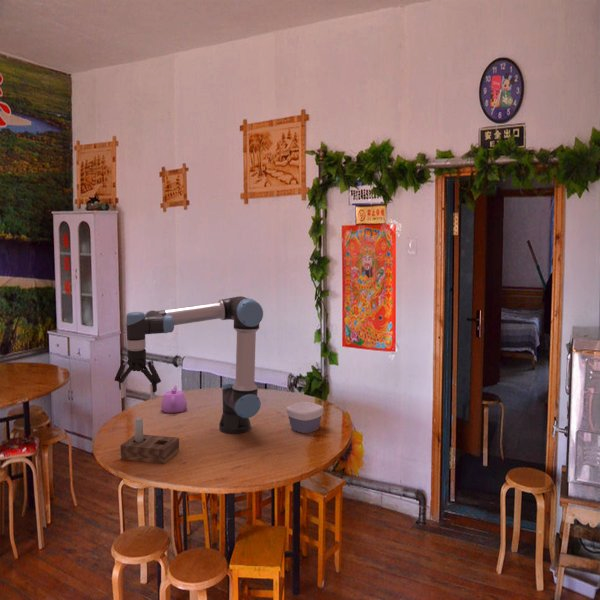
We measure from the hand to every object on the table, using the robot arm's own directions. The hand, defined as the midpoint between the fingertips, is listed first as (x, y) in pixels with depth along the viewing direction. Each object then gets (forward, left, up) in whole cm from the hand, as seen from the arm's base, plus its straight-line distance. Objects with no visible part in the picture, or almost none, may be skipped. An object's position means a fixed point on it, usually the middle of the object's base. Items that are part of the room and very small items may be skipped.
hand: (138, 398), depth 252 cm
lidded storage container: (-62, -47, -25) cm, 82 cm away
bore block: (-5, 0, -25) cm, 25 cm away
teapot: (+12, -60, -25) cm, 66 cm away
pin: (0, 0, -23) cm, 23 cm away
